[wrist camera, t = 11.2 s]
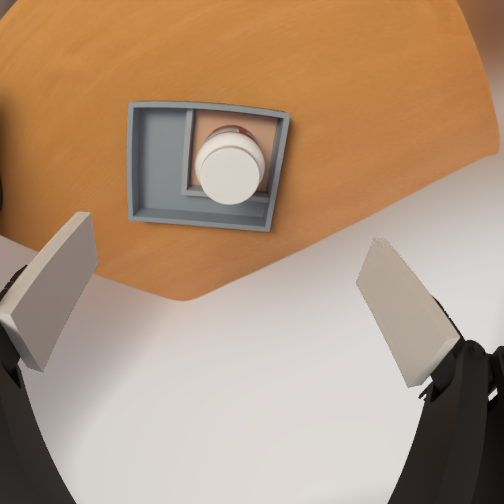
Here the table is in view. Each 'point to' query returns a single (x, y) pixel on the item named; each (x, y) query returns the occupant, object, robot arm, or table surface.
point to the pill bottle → (230, 165)
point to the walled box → (183, 163)
